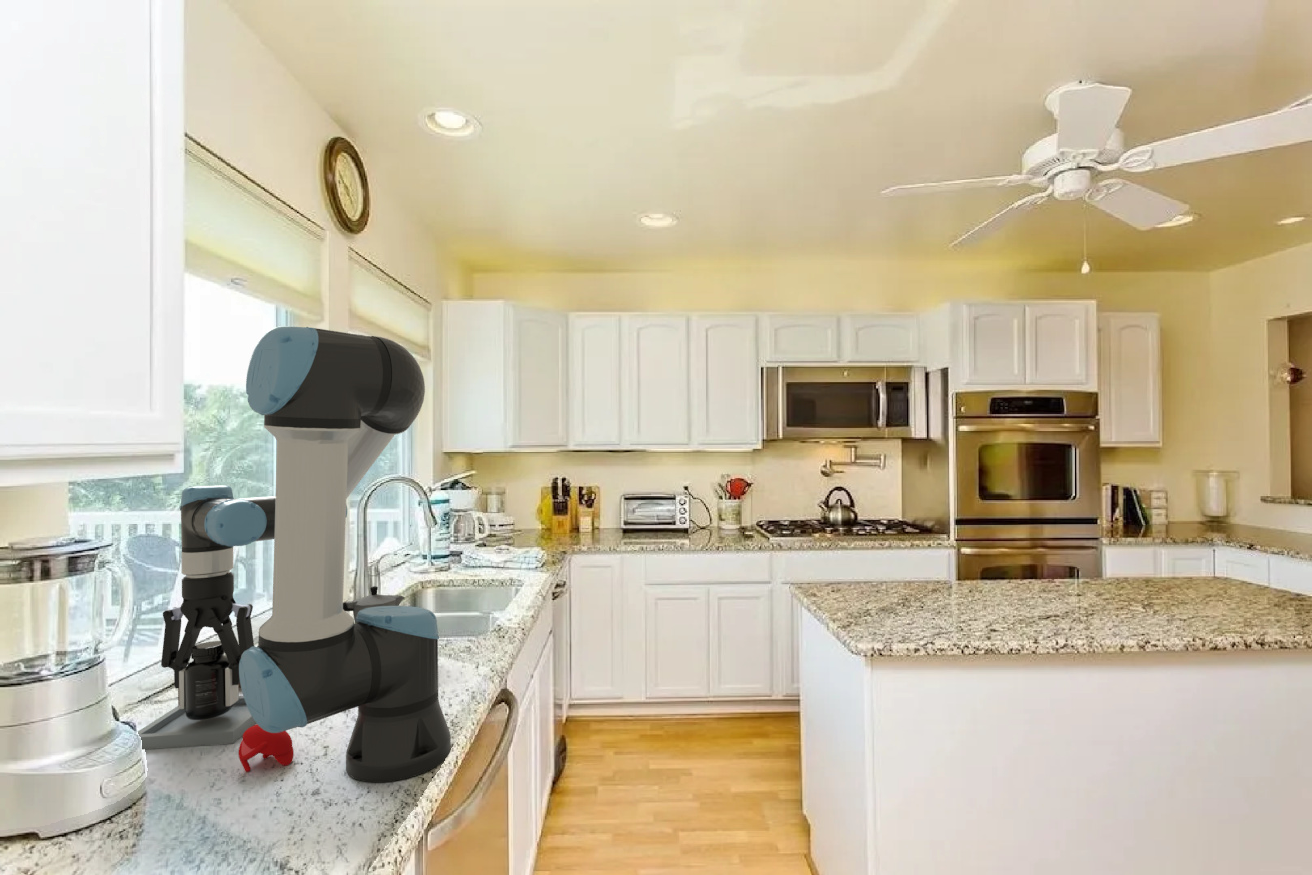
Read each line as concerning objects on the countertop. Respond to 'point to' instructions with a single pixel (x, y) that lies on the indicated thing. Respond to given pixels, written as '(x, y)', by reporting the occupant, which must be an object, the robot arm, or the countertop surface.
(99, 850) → the countertop surface
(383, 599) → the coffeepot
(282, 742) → the cap
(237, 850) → the countertop surface
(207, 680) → the supplement bottle
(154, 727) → the tray
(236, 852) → the countertop surface
